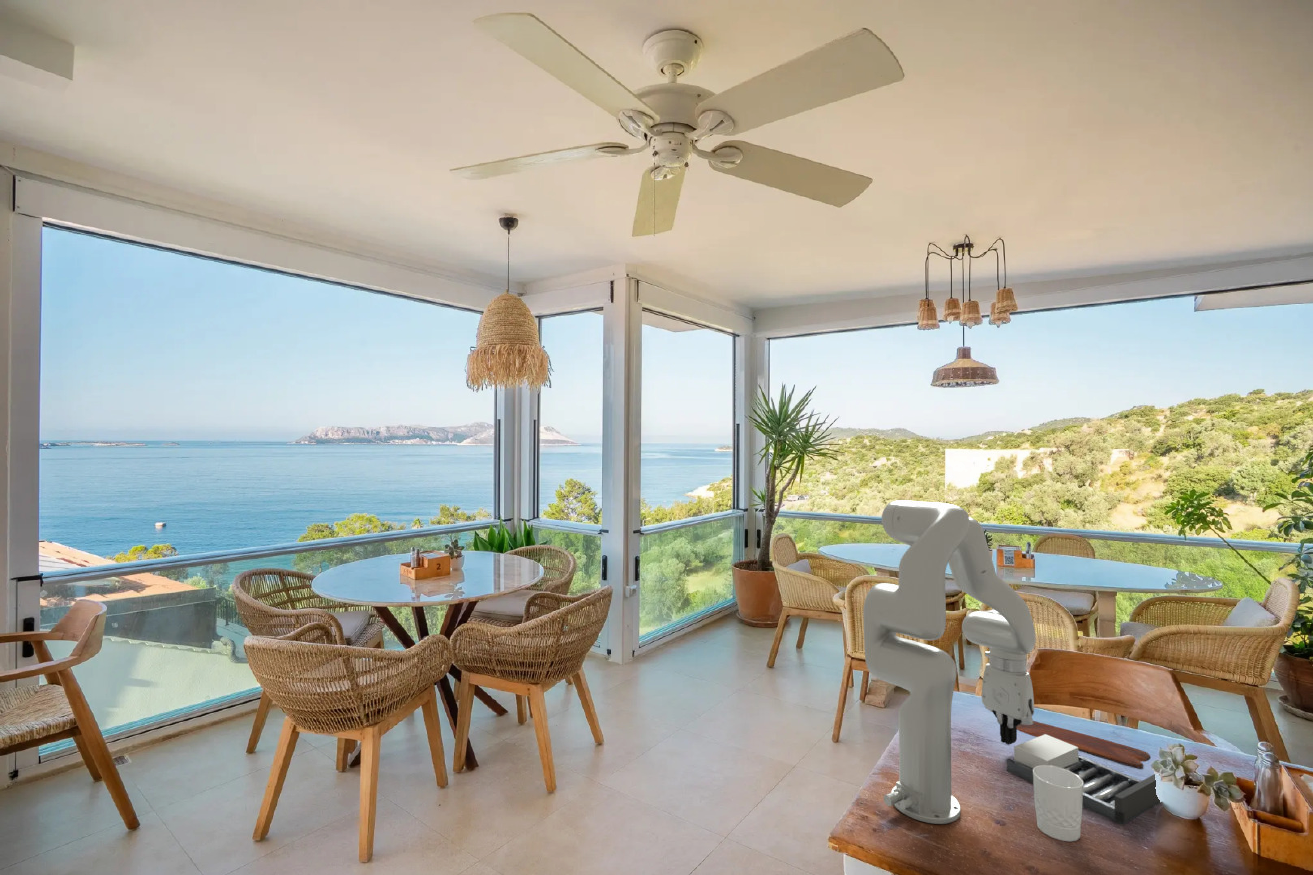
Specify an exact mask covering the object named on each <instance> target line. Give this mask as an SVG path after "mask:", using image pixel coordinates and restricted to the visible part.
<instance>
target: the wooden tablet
mask: <svg viewBox="0 0 1313 875" xmlns="http://www.w3.org/2000/svg"><path fill="white" fill-rule="evenodd" d="M1017 731H1019V732H1022V733H1024V734H1026V735H1030V736H1032V737H1035V738H1037V737H1039V736H1042V735H1044V734H1046V735H1049V736H1051V737H1054V738H1056V739H1059V740H1061V741H1064V742H1066V743H1069V744H1071V745H1074V746H1076V747H1078V751H1083V752H1085V753H1088V754H1092V755H1094V756H1098V757H1100V758H1104V759H1108V760H1109V761H1114V762H1115V763H1119V764H1122V765H1125V766H1129V767H1133V768H1137V769H1143V767H1144V764H1143V763H1142V762H1147V761H1149V759H1150V757H1151V755H1150V754H1149V753H1148V752H1147V751H1145V750H1141V749H1139V748H1135V747H1131V746H1129V745H1126V744H1120V743H1117V742H1115V741H1111V740H1108V739H1103V738H1100V737H1096V736H1092V735H1091V734H1090V735H1089V734H1085V733H1082V732H1081V733H1080V732H1077V731H1074V730H1070V729H1067V728H1063V727H1058V726H1055V725H1051V724H1047V723H1044V722H1043V723H1042V722H1038V721H1036V720H1033V724H1031V725H1024V724H1020V725H1019V726H1017Z"/></svg>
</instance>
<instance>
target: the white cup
mask: <svg viewBox="0 0 1313 875" xmlns="http://www.w3.org/2000/svg"><path fill="white" fill-rule="evenodd" d="M1032 784H1033V796H1034V809H1035V813H1036V815H1035V816H1036V824H1037V828H1038V829H1039V830H1040V831H1041V832H1042V833H1044V834H1045V835H1047V836H1048V837H1050V838H1053V839H1056V840H1059V841H1065V842H1075V841H1076V842H1077V841H1078V840H1080V839H1081V826H1082V825H1081V823H1082V820H1083V808H1084V807H1083V784H1084V783H1083V780H1082V779H1081V778H1080V777H1079V776H1078V775H1076V774H1074V773H1073V772H1071V771H1068V770H1066V769H1063V768H1060V767H1055V766H1049V765H1040V766H1036V767H1034V768H1033V783H1032Z"/></svg>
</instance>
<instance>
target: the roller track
mask: <svg viewBox="0 0 1313 875" xmlns="http://www.w3.org/2000/svg"><path fill="white" fill-rule="evenodd" d="M1078 756H1079V761H1078V762H1076V763H1073V764H1071V765H1069V766H1067V767H1065V768H1063V769H1066V770H1068V771H1071V772H1073V773H1074V774H1076V775H1078V776H1079V777H1080V778H1081V779H1082V780H1083V783H1084V784H1083V807H1082V808H1084V809H1087V810H1088V811H1090V812H1093V813H1094V814H1097V815H1099V816H1101V817H1104V818H1106V819H1108V820H1109V821H1112V822H1114V823H1116V824H1118V825H1120V826H1124V825H1125V824H1127V823H1129V822H1131V821H1133V820H1134V819H1136V818H1137V817H1139V816H1141V815H1143V814H1145V813H1146V812H1148V811H1149V810H1151V809H1153V808H1154V806H1155V805H1156V806H1158V805H1159V804H1161V803H1160V800H1159V799H1158V797H1157V795H1156V789H1155V787H1156V780H1155V774H1156V773H1154V774H1152V775H1150V776H1149V777H1146V778H1145V779H1143V780H1140V779H1138V778H1135V777H1132V775H1131V776H1130V775H1128V774H1126V773H1124V772H1121V771H1119V770H1116V769H1114V768H1111V767H1108V766H1107V765H1104V764H1101V763H1099V762H1096V761H1094V760H1092V759H1089V758H1087V757H1085V756H1082V755H1079V754H1078ZM1006 771H1007V772H1009V773H1011V774H1013V775H1015V776H1017V777H1019V778H1021V779H1024V780H1026V781H1028V782H1030V783H1032V784H1033V768H1030V767H1028V766H1026V765H1024V764H1022V763H1019V762H1017V761H1015V760H1014V759H1012V758H1007V759H1006ZM1156 806H1155V807H1156ZM1147 810H1148V811H1147Z"/></svg>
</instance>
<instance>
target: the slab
mask: <svg viewBox="0 0 1313 875" xmlns="http://www.w3.org/2000/svg"><path fill="white" fill-rule="evenodd" d="M1013 750H1014V751H1013V752H1014V754H1013V756H1014V757H1013V758H1014V759H1013V760H1014V761H1016V762H1019V763H1022V764H1024V765H1026V766H1028V767H1030V768H1034V767H1036V766H1040V765H1049V766H1055V767H1060V768H1065V767H1067V766H1069V765H1071V764H1073V763H1076V762H1078V761H1079V756H1078V755H1079V749H1078V747H1076V746H1074V745H1071V744H1069V743H1066V742H1064V741H1061V740H1059V739H1056V738H1054V737H1051V736H1049V735H1046V734H1044V735H1042V736H1039V737H1035V738H1032V739H1030V740H1027V741H1025V742H1022V743H1019V744H1017V745H1015V746H1014V747H1013Z"/></svg>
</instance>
